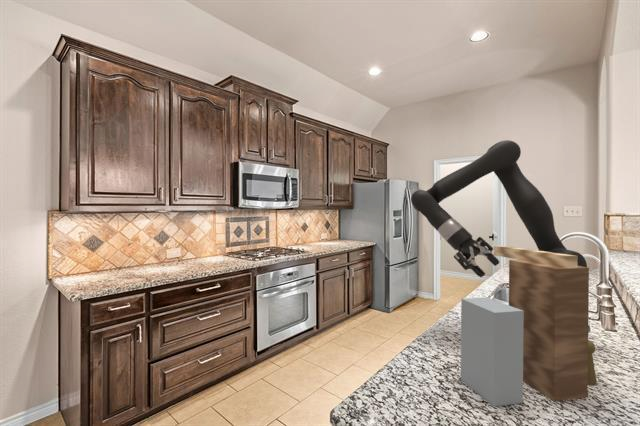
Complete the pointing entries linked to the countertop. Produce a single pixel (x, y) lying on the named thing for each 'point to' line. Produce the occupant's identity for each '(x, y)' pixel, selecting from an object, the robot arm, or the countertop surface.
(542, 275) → the tall walnut stand
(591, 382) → the cork
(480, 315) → the grey rectangular block
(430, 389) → the countertop surface
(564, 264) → the beech bar
